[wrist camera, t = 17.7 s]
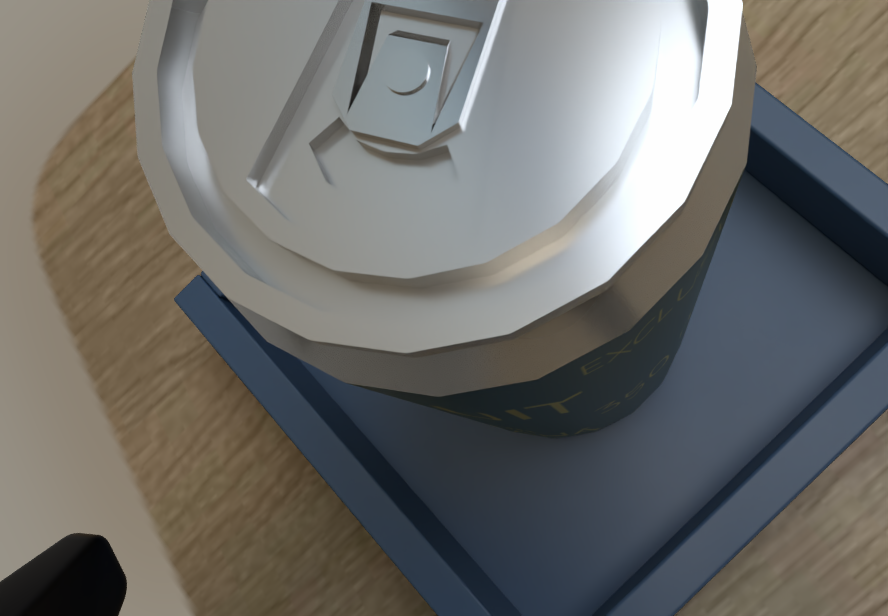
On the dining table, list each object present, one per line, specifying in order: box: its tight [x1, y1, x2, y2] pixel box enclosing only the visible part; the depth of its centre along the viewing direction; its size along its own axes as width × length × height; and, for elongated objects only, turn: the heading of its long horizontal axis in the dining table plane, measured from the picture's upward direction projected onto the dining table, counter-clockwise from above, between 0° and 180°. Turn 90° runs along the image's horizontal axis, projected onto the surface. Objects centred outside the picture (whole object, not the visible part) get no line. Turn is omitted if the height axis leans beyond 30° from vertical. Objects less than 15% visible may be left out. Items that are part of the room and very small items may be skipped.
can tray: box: [174, 82, 888, 616], centre depth 17 cm, size 12×12×2 cm
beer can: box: [132, 0, 757, 438], centre depth 12 cm, size 5×5×12 cm
